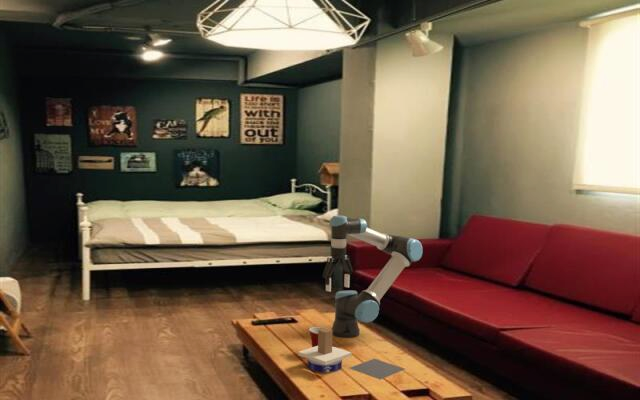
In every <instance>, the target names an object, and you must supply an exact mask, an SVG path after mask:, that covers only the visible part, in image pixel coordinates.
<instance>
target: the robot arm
mask: <svg viewBox="0 0 640 400" xmlns="http://www.w3.org/2000/svg"><path fill="white" fill-rule="evenodd" d="M329 227H330V230H331V233H330V234H331V235H330V236H331V237H330V239H331V240H330V246H331V248H330V254H331V257H327V258H326V264H325V267H324V269H323V273H322V275H321V277H322V278H324V279H325V281H324V283H325V284H324V285H325V291H326V292H332V277H331V276H332V275H333V273H334V271H335V269H336V268H337V267H339V266H341V268H342V270H343V271H344V283H343V286H344V288H350V280H351V275H352V274H353V273H354V268H353V267H352V263H351V259H350V255H347V235H348V236H351V237H354V238H355V239H357V240H361V241H362V242H365V243H367V244H370V245H373V246H374V247H375V246H376V248H377V249H378V250H380V251H381V252H382V251H383V252H384V253H386V254H388V255H391V258H389V260H388V262H386V264H385V266H384V267H382V269H381V271H380V272H379V274H378V275H377V276H376V277H375V278H374V280H373V281H372V282H371V284H370V285H369V286H368V288H367V289H365V290H362V291H360V293H358V291H357V290H353V289H352V290H351V289H350V290H339V291H337V292H336V293H335V298H334V301H335V303H334V304H335V305H334V309H335V311H334V321H333V324H332V326H331V330H333V333H332V336H334V337H338V338H347V339H349V338H356V337H358V336H360V334H361V333H360V331H361V330H360V327H359V324H358V321H359V322H362V323H371V322H373V321H375V319H377V317H378V315H379V311H380V305H381V302H380V301H381V299H382V298H383V296H384V295H385V294H386V292H387V291H388V290H389V289H390V287H392V285H393V283H394V282H395V280H396V279H397V278H398V276H399V275H401V273H402V271H403V270H404V269H405V268H406V267H407V268H408V267H410V265H411V264H412V263H413V262H417V261H418V262H419V261H420V259H421V258H422V256H423V251H424V250H423V245H422V243H421V241H419V240H418V239H415V238H411V237H405V236H399V235H394V234H389V233H386V232H383V233H381V232H379V231H376V230H375V229H372V228H369V227H368V223H367V221H366V220H365V219H363V218H359V217H358V218H351V217H347V216H346V215H333V216H332V217H331V218H330V220H329Z"/></svg>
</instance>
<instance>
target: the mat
mask: <svg viewBox="0 0 640 400" xmlns="http://www.w3.org/2000/svg"><path fill="white" fill-rule="evenodd" d="M349 369H350V370H353V371H355V372H358V373H361V374H365V375H367V376H370V377H372V378H375V379H378V380H383V379H385V378H387V377H390V376H392V375H394V374H397V373H400V372H402V371H404V370H406V368H404V367H401V366H398V365H395V364H392V363H389V362H385V361H383V360H380V359H377V358H372V359H369V360H366V361H363V362H361V363H359V364H356V365H353V366H351V367H349Z"/></svg>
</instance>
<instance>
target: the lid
mask: <svg viewBox="0 0 640 400" xmlns="http://www.w3.org/2000/svg"><path fill="white" fill-rule="evenodd" d="M324 328H325V329H321V330H318V346H315V347H312V346H311V347H309V348H306V349H302V350H300V351H297V355H298V356H299V357H303V358H305V359H307V360H308V359H310V360H313V361H316V362H318V363H321V364H324V365H327V364H330V363H333V362H336V361H339V360H341V359H342V360H344V359H347V358H350V357H352V356H353V353H352V352H351V351H349V350H345V349H342V348H339V347H335V346H333V334H332V333H333V330H332V329H330V330H329V328H327V327H324ZM326 328H327V329H326Z"/></svg>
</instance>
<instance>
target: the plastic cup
mask: <svg viewBox="0 0 640 400" xmlns="http://www.w3.org/2000/svg"><path fill="white" fill-rule="evenodd" d="M325 328H326V329H329V328H327V327H321V326H313V327H310V328H309V329H308V330H309V334H310V340H311V348H312V347H315V346H318V330H321V329H325ZM329 330H331V329H329Z"/></svg>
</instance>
